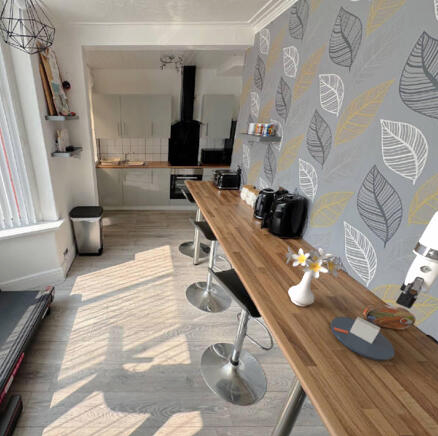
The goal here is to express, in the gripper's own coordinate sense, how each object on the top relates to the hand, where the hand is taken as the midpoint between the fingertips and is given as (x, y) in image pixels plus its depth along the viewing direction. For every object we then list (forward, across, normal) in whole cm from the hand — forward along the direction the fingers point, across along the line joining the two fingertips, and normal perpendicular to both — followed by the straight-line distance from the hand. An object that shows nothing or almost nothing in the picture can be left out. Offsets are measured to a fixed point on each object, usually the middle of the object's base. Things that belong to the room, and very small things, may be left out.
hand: (404, 298), depth 74 cm
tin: (+20, +13, 0) cm, 24 cm away
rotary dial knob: (+19, -4, +4) cm, 20 cm away
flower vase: (+21, -1, +26) cm, 33 cm away
